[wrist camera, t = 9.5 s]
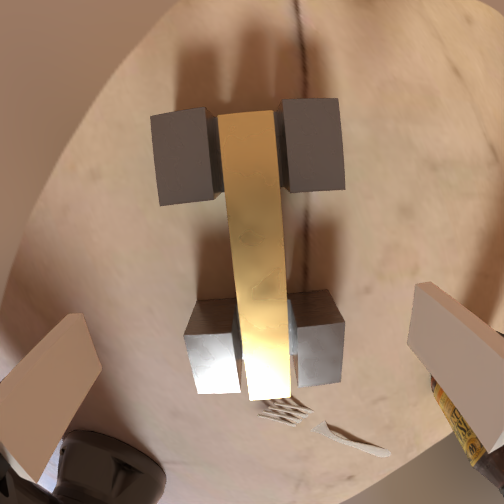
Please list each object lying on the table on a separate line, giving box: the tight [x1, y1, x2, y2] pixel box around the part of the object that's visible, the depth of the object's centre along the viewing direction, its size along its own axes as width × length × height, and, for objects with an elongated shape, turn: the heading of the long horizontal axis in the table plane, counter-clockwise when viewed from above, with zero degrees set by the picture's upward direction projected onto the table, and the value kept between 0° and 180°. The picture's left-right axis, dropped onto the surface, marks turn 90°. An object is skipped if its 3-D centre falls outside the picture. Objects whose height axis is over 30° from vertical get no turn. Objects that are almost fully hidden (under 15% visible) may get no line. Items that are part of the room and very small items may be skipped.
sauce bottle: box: [431, 376, 504, 497], centre depth 16 cm, size 7×6×20 cm
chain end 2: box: [184, 290, 345, 393], centre depth 21 cm, size 10×5×5 cm, turn 95°
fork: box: [257, 402, 391, 457], centre depth 28 cm, size 3×24×2 cm, turn 51°
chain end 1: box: [150, 98, 345, 206], centre depth 17 cm, size 10×5×5 cm, turn 95°
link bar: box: [217, 110, 291, 400], centre depth 18 cm, size 2×16×6 cm, turn 5°
